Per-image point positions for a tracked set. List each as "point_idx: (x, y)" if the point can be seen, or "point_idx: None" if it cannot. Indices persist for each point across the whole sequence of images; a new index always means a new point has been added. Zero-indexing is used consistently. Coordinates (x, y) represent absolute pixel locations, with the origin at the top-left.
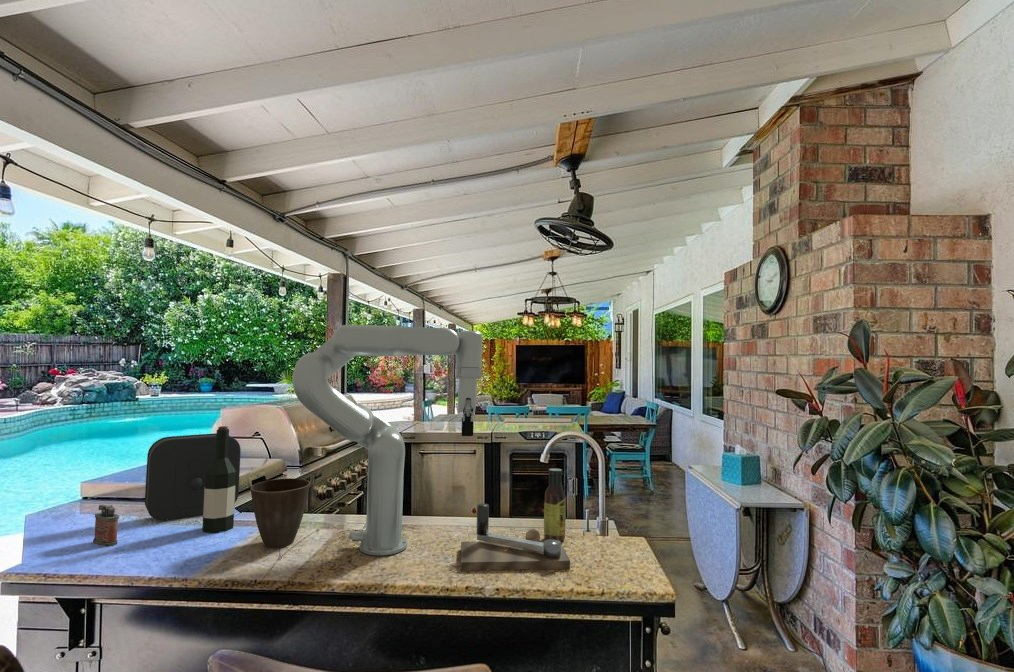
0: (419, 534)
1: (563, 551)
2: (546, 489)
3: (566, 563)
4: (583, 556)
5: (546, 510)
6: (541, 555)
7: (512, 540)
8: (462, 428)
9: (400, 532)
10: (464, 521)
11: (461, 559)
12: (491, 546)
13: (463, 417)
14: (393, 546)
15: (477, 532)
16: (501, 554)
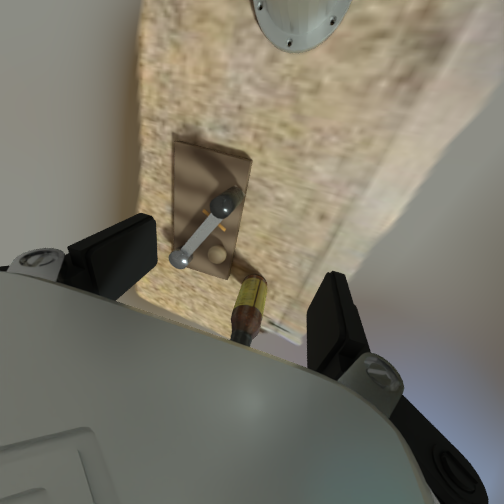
0: (350, 91)
1: (196, 268)
2: (247, 322)
3: None
4: (204, 283)
5: (244, 297)
6: None
7: (201, 225)
8: (112, 230)
9: (279, 18)
10: (381, 201)
11: (183, 144)
12: None
13: (11, 269)
14: (267, 9)
15: (230, 187)
16: (195, 203)
